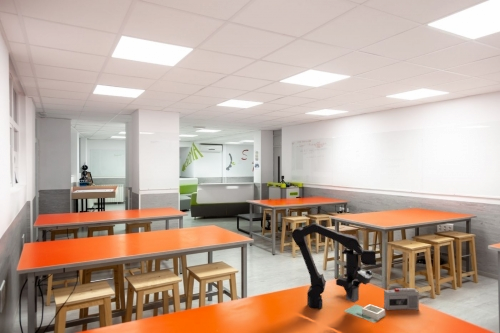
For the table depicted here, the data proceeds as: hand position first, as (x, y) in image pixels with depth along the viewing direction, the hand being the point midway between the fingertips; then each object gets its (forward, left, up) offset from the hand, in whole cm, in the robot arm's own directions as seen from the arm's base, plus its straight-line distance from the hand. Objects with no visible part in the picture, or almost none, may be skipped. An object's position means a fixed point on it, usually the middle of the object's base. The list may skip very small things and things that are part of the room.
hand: (352, 297), depth 149 cm
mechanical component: (-12, +16, -8) cm, 22 cm away
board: (+5, +2, -7) cm, 9 cm away
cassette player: (+14, +20, -8) cm, 26 cm away
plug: (0, 0, -1) cm, 1 cm away
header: (+8, +4, -6) cm, 11 cm away
